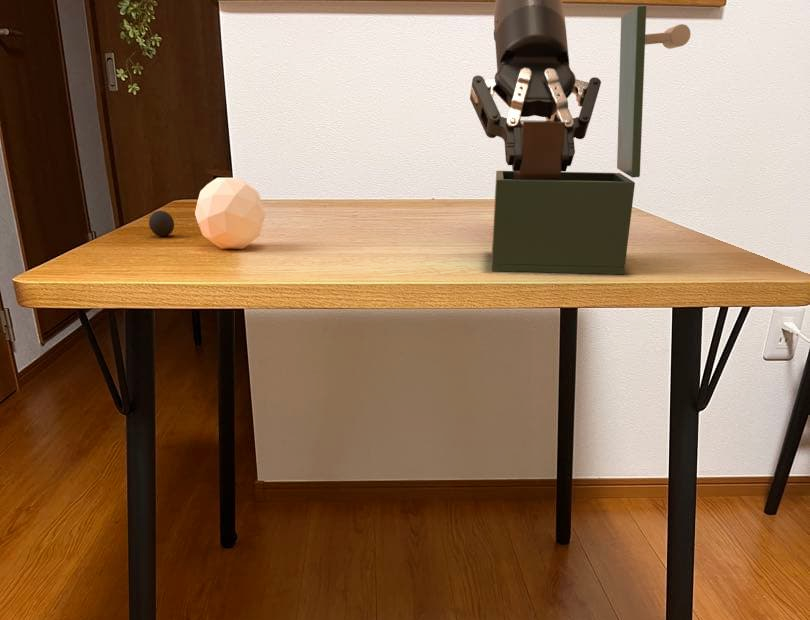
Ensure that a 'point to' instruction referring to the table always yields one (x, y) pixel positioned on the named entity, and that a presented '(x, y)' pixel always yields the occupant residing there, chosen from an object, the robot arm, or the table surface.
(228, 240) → the geometric ball
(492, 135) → the robot arm
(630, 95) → the bin lid
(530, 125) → the block
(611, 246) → the bin
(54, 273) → the table surface
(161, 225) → the marker ball
